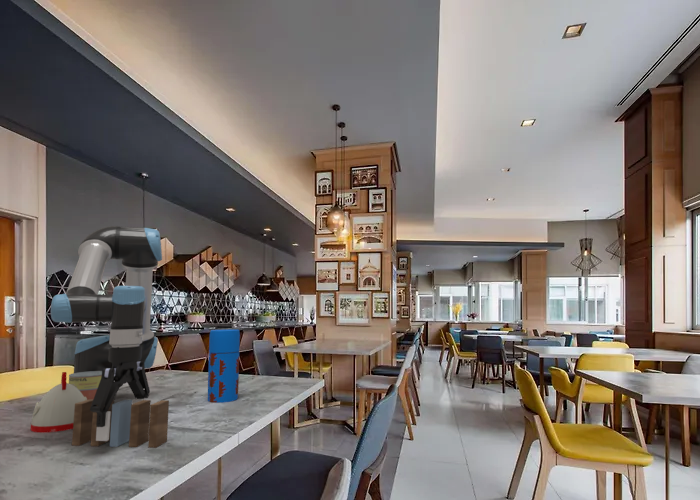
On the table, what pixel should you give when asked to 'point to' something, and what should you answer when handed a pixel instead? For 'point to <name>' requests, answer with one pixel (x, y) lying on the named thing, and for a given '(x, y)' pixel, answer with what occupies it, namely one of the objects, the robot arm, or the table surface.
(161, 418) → the domino
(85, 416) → the domino
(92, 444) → the domino
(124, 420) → the domino
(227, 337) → the thermos
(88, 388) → the canned food
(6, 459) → the table surface
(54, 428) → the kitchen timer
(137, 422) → the domino
